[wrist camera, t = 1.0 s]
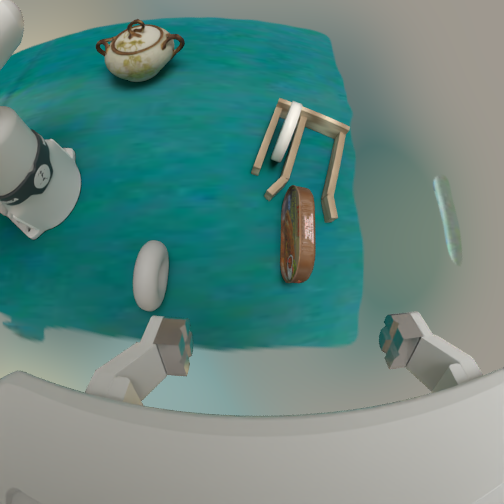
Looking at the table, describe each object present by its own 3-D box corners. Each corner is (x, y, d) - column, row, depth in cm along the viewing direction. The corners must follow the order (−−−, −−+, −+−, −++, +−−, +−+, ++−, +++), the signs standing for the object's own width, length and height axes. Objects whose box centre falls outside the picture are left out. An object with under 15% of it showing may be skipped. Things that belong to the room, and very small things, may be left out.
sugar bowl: (192, 50, 51) (192, 2, 36) (178, 92, 48) (173, 38, 34) (116, 54, 48) (104, 10, 34) (94, 95, 46) (73, 49, 31)
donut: (152, 246, 43) (137, 231, 33) (173, 248, 43) (163, 234, 33) (144, 308, 41) (125, 310, 31) (165, 311, 41) (152, 314, 32)
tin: (281, 196, 47) (295, 175, 39) (298, 198, 48) (315, 178, 39) (279, 284, 45) (294, 280, 36) (297, 285, 45) (316, 281, 37)
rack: (244, 192, 46) (247, 181, 42) (274, 111, 50) (279, 98, 46) (330, 224, 48) (341, 217, 43) (347, 141, 52) (357, 130, 47)
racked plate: (266, 169, 48) (280, 136, 37) (282, 124, 50) (297, 88, 39) (275, 172, 48) (291, 140, 37) (290, 127, 50) (306, 92, 39)
